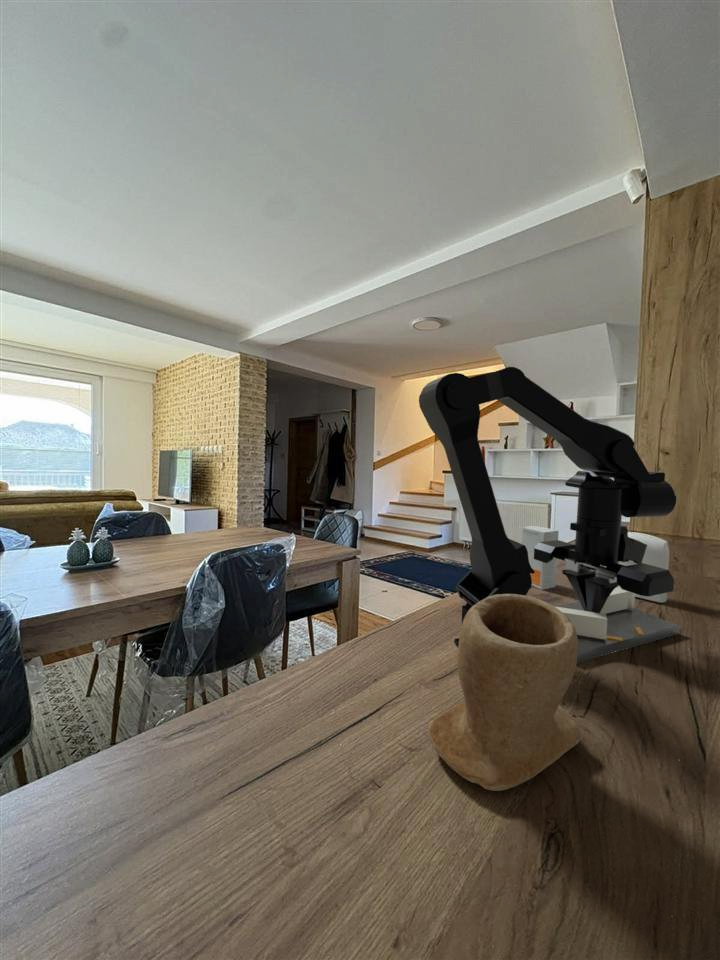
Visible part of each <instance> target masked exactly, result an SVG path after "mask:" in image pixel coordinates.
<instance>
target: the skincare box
mask: <svg viewBox="0 0 720 960" xmlns="http://www.w3.org/2000/svg"><path fill="white" fill-rule="evenodd" d="M555 540H559V530H557V529H551V528H549V527H542V526H539V525H527V526H522V527H521V544H523V545H525V546H526V548H527V551H528V559H529V563H530V566H531V568H532V569H533V570H534V571H535V573H534V574H532V573H530V575H531V579H532V587H534V588H537V589H539V590H543V591H544V590H548V589H552V588H556V586H557V583H556V582H557V568H558V565H557V564H558V563H557V562H558V559H557V558H554V557H553V560H552V561H551V562H549V563H544V562H541V561H538V560H535V559H534V548H535V547H536V545H537V544H538V543H539V542H546V541H555Z"/></svg>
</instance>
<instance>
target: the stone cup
mask: <svg viewBox="0 0 720 960" xmlns="http://www.w3.org/2000/svg"><path fill="white" fill-rule="evenodd" d="M461 626H462V627H460V633H459V637H458V638H459V645H457V647H458V648H457V670H458V678H459V681H460V686H461V689H462V692H463V696H464V701H463V702H460V703H458V704H456V705H454V706H452V707H450V708H448V709H447V710H445V711H443V712H442V713H440V714H438V715H437V716H436V717H435V718H434V719H433V720H431V722H429V724H428V727H427V733H428V738H429V740H430V743H431V745H432V747H433V748H434V750H435V752H436V753H437V754H438V755H439V757H440V758H441V759H442V760H443V761H444V763H446V764H447V766H448V767H449V768H451V769H452V770H453V771H454V772H456V774H458V775H459V776H460V777H461V778H463V779H465V780H467V781H469V782H470V783H473V784H477V785H479V786H480V787H482V788H484V789H485V790H488V791H493V792H495V791H496V792H501V791H506V790H509V789H512V788H515V787H517V786H520V785H521V784H523V783H526V782H527V781H529V780H531V779H533V778H534V777H536V776H537V775H539V773H542V771H544V770H545V769H547V768H548V767H549V766H551V765H552V764H554V763H555V762H556V761H557V760H558V759H560V758H561V757H562V756H564V755H565V754H566V753H567V752H568V751H569V750H571V749H572V748H574V747H575V746H576V745H578V744H579V743H580V742H581V740H582V739H583V738H584V737H583V734H582V731H581V729H580V728H579V727H578V725H577V724H576V723H577V722H576V721H574V720H573V719H572V718H571V716H570V715H569V714H568V712H567V711H566V710H565V709H564V707H562V706H561V705H560V703H561V701H562V699H563V697H564V695H565V694H566V692H567V691H568V689H569V687H570V685H571V683H572V680H573V679H574V676H575V672H576V669H577V664H578V663H577V650H578V637H577V633H576V629H575V627H574V626H573V624H572V623H571V621H570V620H569V619H568V618H567V617H566V616H565V615H564V614H563V613H562V612H561V611H560V610H559V609H557V608H556V607H554V605H552V604H550V603H549V602H547V601H545V600H542V599H539V598H536V597H532V596H529V595H526V596H525V595H518V594H496V595H493V596H489V597H487V598H485V599H483V600H481V601H480V602H478V603H477V604H475V605H474V606H472V607H471V608H470V609H469V611H468V612H467V614H466V616H465V617H464V620H463V623H462V622H461Z"/></svg>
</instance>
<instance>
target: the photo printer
mask: <svg viewBox="0 0 720 960" xmlns="http://www.w3.org/2000/svg"><path fill="white" fill-rule="evenodd" d="M628 537H629V538H632V539H635V540H637V541H640V542H642V543H644V544H646V545H647V548H646V551H645V554H644V557H643V560H642V563H644V564H648V565H652V566H655V567H659V568H663V569H667V570H669V565H670V564H669V563H670V549H669V542H668V541H667V540H665V539H664V538H660V537H658V536H654V535H651V534H647V533H642V532H633V531H628ZM618 564H621V565H624V566H629V565H635V564H637V563H634V562H633V561H631V560H629V561H628V562H621V561H620V562H618ZM617 587H620V586H617ZM617 587H616V588H617ZM635 598H638V599H639V598H640V599H643V600H647V601H651V602H656V603H660V604H661V603H666V602H667V601H668V599H667V598H668V592H667V593H662V594H658V595H653V596H649V597H648V596H641V595H638V594H635Z"/></svg>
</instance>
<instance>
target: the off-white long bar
mask: <svg viewBox="0 0 720 960" xmlns="http://www.w3.org/2000/svg"><path fill="white" fill-rule="evenodd" d="M635 598H636V597H635V593H632V592H629V591H626V590H623V589H621V587H617V588H615V589H614V590H613V591H612V593H611V594H610V595H609V597H608V599H607V600H606V602H605V604H604V606H603V608H602V610H601V612H600V613H602V614H606V613H611V612H615V611H619V610H624V609H631V608H633V609H634V608H635V602H636V601H635ZM583 611H584V610H583Z"/></svg>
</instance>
